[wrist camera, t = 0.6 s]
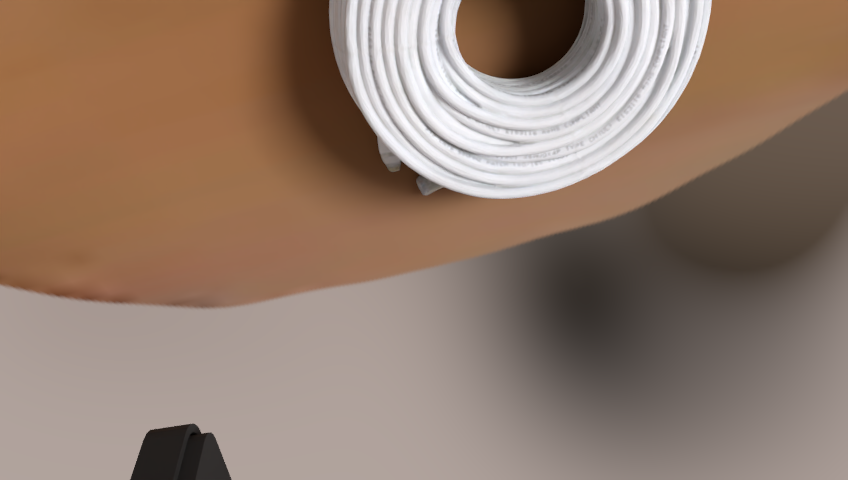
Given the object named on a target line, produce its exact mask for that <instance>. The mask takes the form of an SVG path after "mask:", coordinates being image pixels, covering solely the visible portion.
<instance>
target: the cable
mask: <svg viewBox="0 0 848 480" xmlns="http://www.w3.org/2000/svg"><path fill="white" fill-rule="evenodd" d="M460 2H461V0H329V23H330V34H331V40H332V45H333V50H334V55H335V58H336V62H337V65H338V68H339V71H340V74H341V76H342V79H343V81H344V83H345V85H346V87H347V89H348V91H349V93H350V95H351V97H352V98H353V100H354V101H355V103H356V104H357V106H358V107H359V109H360V110H361V112H362V114H363V116H364V117H365V119H366V120H367V122H368V124H369V125H370V127H371V128H372V129H373V131H374V132H375V134H376V135H377V140H378V147H379V152H380V155H381V159H382V161H383V162H384V163H385V164H386V166H387V168H388V170H389V171H391V172H395V171H400V166H401V161H402V162H403V163H405V164H406V165H407V166H408V167H409V168H411V169H412V170H414V171H415V172H417V173H418V174H420V176H419V177H418V178H417V180H416V182H417V185H418V188H419V189H420V191H421V193H422V194H423V195H429V194H431V193H432V192H434V191H436V190H438V189H441V188H444V187H445V188H447V189H450V190H452V191H456V192H459V193H462V194H466V195H470V196H475V197H481V198H492V199H508V198H521V197H528V196H534V195H539V194H543V193H547V192H551V191H555V190H558V189H561V188H564V187H566V186H569V185H572V184H574V183H576V182H579V181H581V180H583V179H585V178H588V177H589V176H591V175H593V174H595V173H597V172H599V171H601V170H603V169H604V168H606V167H607V166H609V165H610V164H612V163H613V162H615V161H616V160H618V159H619V158H620V157H622V156H623V155H625V154H626V153H628V152H629V151H630V150H632V149H633V148H634V147H635V146H637V145H638V144H639V143H640V142H642V141H643V140H644V139H645V138H646V137H647V136H648V135H649V134H650V133H651V132H652V131H653V130H654V129H655V128H656V127H657V126H658V125H659V124H660V123H661V122H662V120H663V119H664V118H665V117H666V115H667V114H668V113H669V111H670V110H671V109H672V108H673V106H674V105H675V103H676V102H677V100H678V99H679V97H680V95H681V94H682V92H683V90H684V89H685V87H686V85H687V84H688V82H689V80H690V78H691V75H692V73H693V71H694V68H695V66H696V64H697V61H698V59H699V57H700V53H701V50H702V47H703V44H704V40H705V36H706V33H707V28H708V23H709V18H710V13H711V2H712V0H585V11H584V18H583V22H582V26H581V29H580V32H579V35H578V37H577V38H576V40H575V42H574V44H573V45H572V47H571V48H570V50H569V51H568V52H567V53H566V55H565V56H564V57H563V58H562V59H561V60H559V61H558V62H557V63H556V64H554V65H553V66H552V67H550V68H549V69H547V70H545V71H543V72H541V73H540V74H537V75H533V76H530V77H526V78H519V79H505V78H497V77H492V76H489V75H486V74H484V73H481V72H479V71H477V70H475V69H474V68H472V67H471V66H469V65H468V64H466V62H465V61H464V59H463V58H462V56H461V54H460V51H459V48H458V45H457V41H456V35H455V25H456V16H457V11H458V8H459V5H460Z"/></svg>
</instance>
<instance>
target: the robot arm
mask: <svg viewBox="0 0 848 480" xmlns="http://www.w3.org/2000/svg"><path fill="white" fill-rule="evenodd" d="M130 480H231V477H230V475H229V472H228V470H227V467H226V464H225V462H224V459H223V457H222V454H221V452H220V449H219V446H218V444H217V442H216V439H215V437H214V435H213V434H212V433H204V434H201V432H200V430H199V428H198V427H197V426H196V425H195V424H188V425H181V426H174V427H168V428H162V429H154V430H150V431H149V432H148V433H147V434H146V436H145V438H144V440H143V443H142V446H141V450H140V452H139V455H138V458H137V461H136V465H135V467H134V470H133V474H132V476H131V479H130Z"/></svg>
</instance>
